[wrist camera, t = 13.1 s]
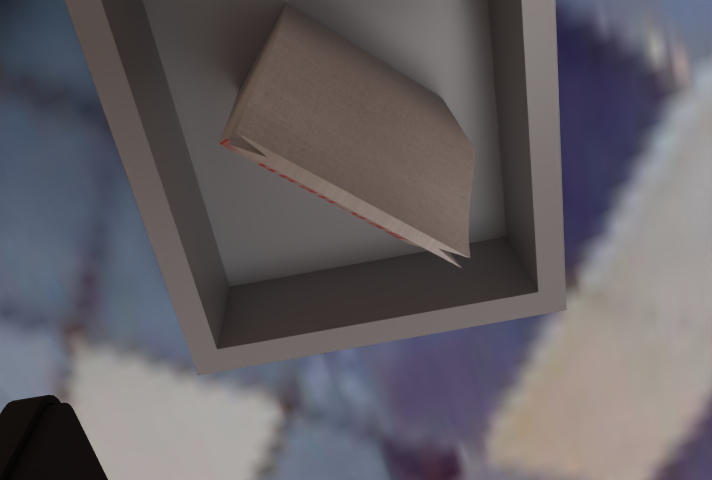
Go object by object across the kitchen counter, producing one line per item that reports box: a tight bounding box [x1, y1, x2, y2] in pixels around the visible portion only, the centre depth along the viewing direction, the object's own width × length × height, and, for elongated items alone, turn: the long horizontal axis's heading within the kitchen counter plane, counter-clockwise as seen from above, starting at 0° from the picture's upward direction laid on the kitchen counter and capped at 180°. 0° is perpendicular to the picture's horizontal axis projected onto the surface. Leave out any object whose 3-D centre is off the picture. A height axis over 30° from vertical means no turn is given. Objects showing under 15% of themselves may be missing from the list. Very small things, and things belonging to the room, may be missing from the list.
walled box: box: [65, 0, 566, 375], centre depth 24 cm, size 16×14×6 cm
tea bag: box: [219, 3, 476, 269], centre depth 21 cm, size 4×7×10 cm, turn 59°
